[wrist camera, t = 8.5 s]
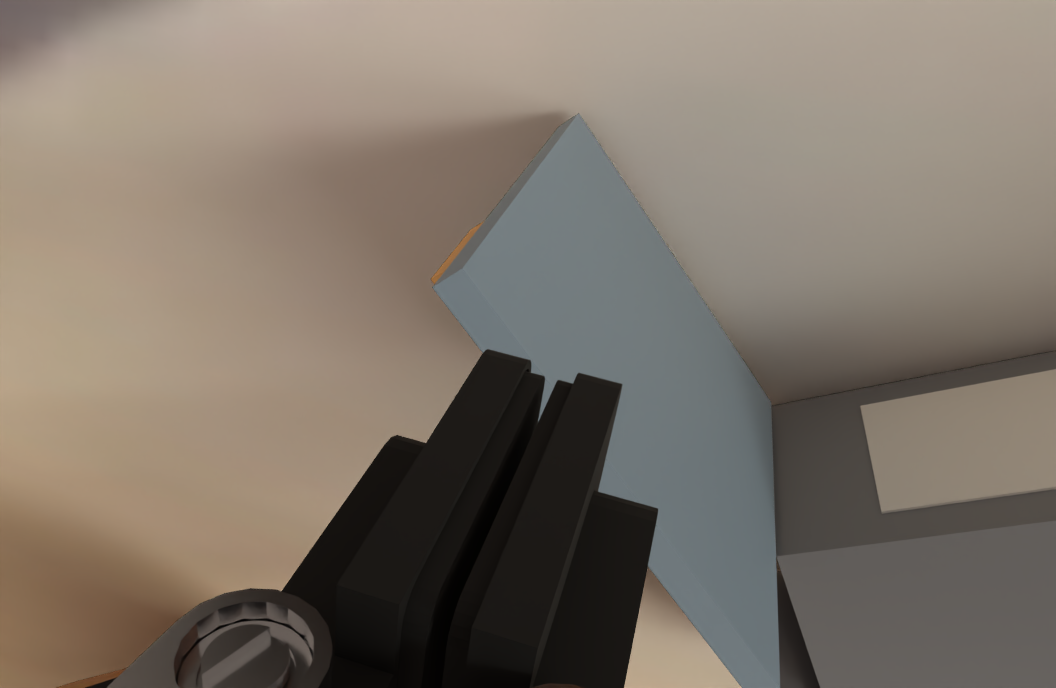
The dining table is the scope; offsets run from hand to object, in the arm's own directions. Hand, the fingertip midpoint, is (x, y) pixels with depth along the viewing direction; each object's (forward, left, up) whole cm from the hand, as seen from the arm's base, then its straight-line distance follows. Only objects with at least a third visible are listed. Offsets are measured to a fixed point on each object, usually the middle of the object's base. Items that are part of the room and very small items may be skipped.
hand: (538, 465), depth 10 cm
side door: (+2, +5, -19) cm, 19 cm away
